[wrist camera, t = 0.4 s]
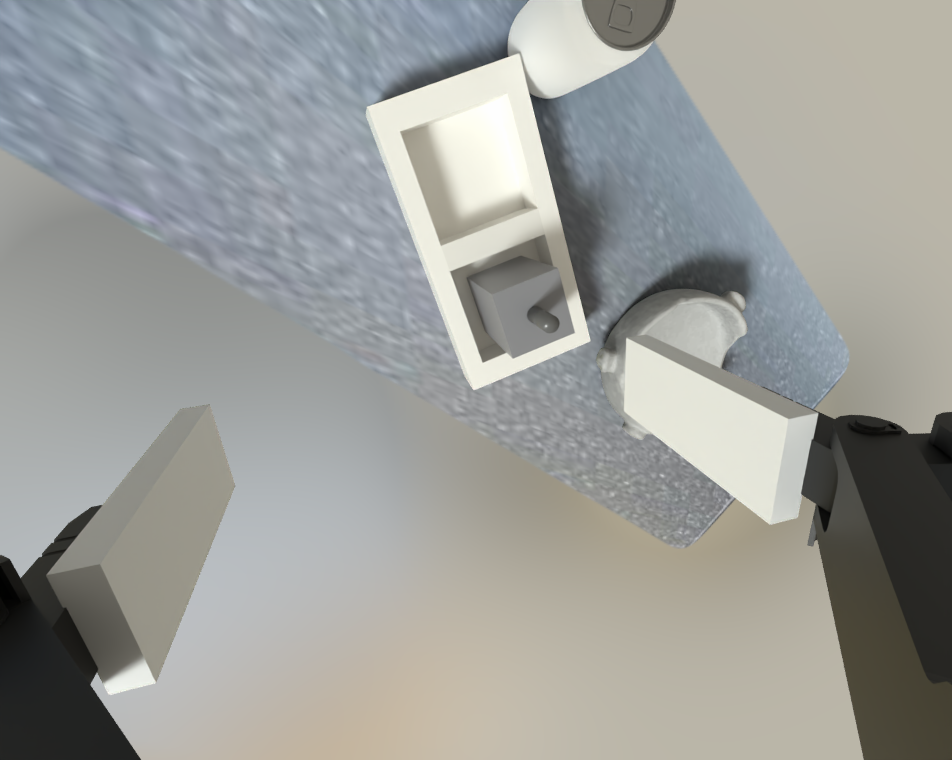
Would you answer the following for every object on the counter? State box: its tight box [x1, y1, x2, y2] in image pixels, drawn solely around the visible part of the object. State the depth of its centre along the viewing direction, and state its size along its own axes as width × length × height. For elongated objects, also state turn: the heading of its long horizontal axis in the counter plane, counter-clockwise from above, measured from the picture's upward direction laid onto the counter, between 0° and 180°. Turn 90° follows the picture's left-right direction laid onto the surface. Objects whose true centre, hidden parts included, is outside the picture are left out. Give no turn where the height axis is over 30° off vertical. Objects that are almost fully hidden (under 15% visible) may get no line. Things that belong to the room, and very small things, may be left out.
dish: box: [596, 289, 748, 440], centre depth 46 cm, size 14×14×5 cm
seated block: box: [466, 256, 575, 359], centre depth 36 cm, size 5×5×11 cm
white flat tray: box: [366, 54, 590, 390], centre depth 38 cm, size 22×11×4 cm, turn 19°
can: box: [508, 0, 676, 99], centre depth 31 cm, size 6×6×12 cm
